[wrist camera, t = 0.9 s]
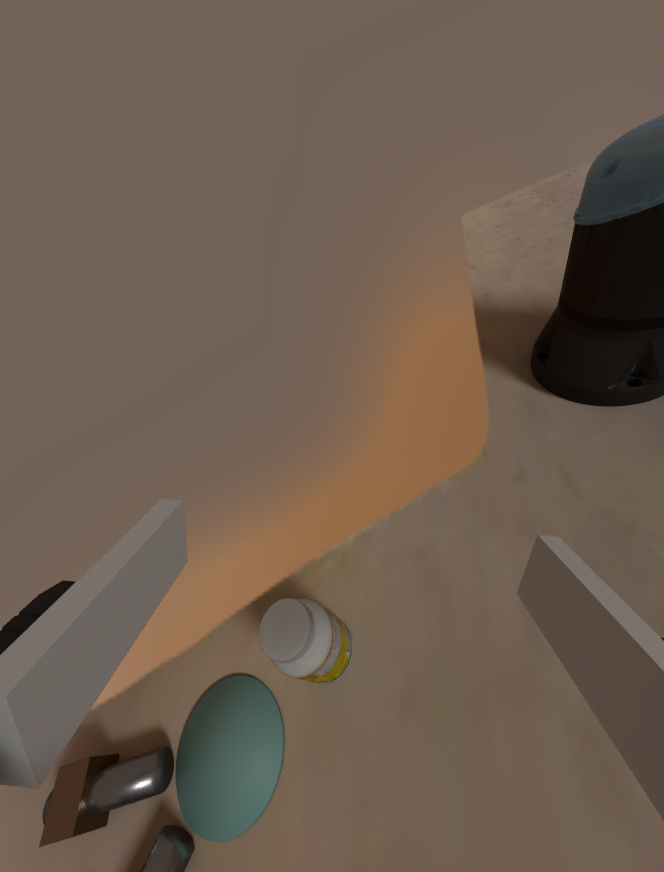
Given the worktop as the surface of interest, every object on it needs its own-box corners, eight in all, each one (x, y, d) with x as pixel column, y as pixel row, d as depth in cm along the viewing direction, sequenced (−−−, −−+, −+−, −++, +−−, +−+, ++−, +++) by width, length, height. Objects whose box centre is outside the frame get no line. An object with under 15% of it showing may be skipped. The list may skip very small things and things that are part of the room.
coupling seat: (252, 649, 32) (250, 649, 32) (306, 764, 25) (305, 764, 25) (165, 734, 30) (163, 734, 30) (200, 883, 23) (198, 885, 23)
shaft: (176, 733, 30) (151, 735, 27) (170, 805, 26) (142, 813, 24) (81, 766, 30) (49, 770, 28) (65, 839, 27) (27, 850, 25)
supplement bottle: (366, 642, 29) (334, 620, 23) (329, 700, 28) (282, 695, 21) (324, 604, 33) (285, 574, 26) (289, 653, 31) (236, 635, 24)
